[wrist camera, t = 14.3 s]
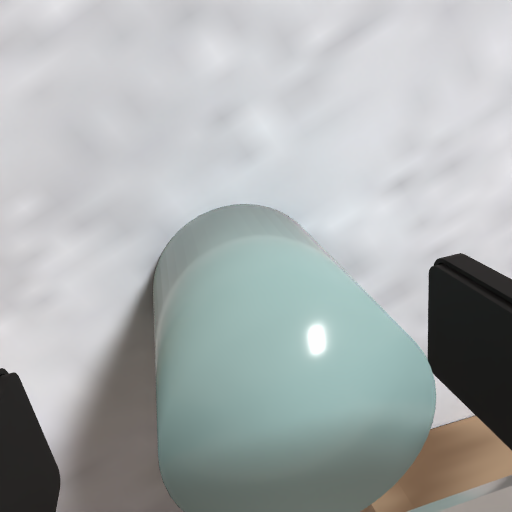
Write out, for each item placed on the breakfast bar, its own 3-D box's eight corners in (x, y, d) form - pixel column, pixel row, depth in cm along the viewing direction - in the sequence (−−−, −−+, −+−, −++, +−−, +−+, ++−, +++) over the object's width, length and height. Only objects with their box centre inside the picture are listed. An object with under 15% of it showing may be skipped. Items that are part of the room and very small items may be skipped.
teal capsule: (321, 194, 13) (450, 286, 7) (320, 344, 15) (423, 504, 9) (140, 215, 12) (135, 339, 6) (165, 372, 14) (178, 567, 8)
